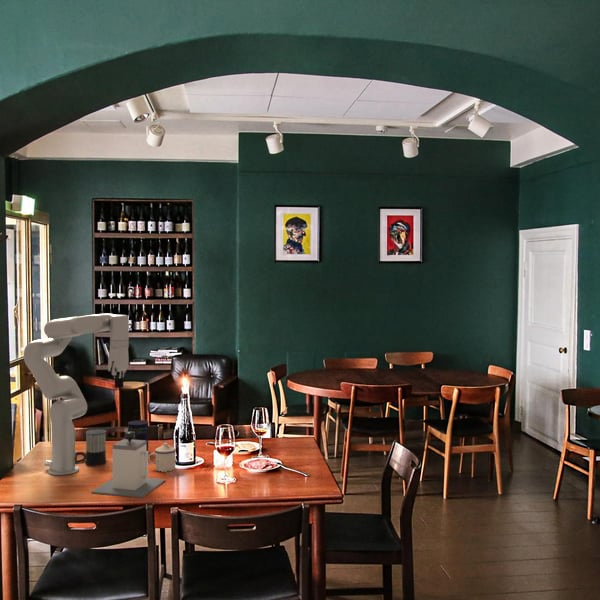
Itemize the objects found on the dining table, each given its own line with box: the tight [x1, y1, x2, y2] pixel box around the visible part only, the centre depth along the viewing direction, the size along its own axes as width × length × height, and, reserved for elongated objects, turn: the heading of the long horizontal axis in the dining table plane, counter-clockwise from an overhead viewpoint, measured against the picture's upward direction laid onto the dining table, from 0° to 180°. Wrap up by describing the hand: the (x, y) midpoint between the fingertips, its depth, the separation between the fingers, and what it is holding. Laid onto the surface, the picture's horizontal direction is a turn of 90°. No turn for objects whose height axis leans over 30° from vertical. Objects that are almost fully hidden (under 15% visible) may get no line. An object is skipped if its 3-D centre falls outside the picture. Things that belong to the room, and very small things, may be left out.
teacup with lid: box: [148, 442, 177, 473], centre depth 293 cm, size 12×9×12 cm
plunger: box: [124, 431, 135, 443], centre depth 268 cm, size 4×4×18 cm
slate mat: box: [90, 477, 166, 499], centre depth 268 cm, size 22×22×1 cm
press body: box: [111, 438, 149, 490], centre depth 268 cm, size 13×10×18 cm
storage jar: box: [127, 419, 149, 452], centre depth 319 cm, size 10×10×15 cm
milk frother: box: [75, 428, 107, 467], centre depth 301 cm, size 14×16×15 cm
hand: (119, 387), depth 276 cm, fingers closed
